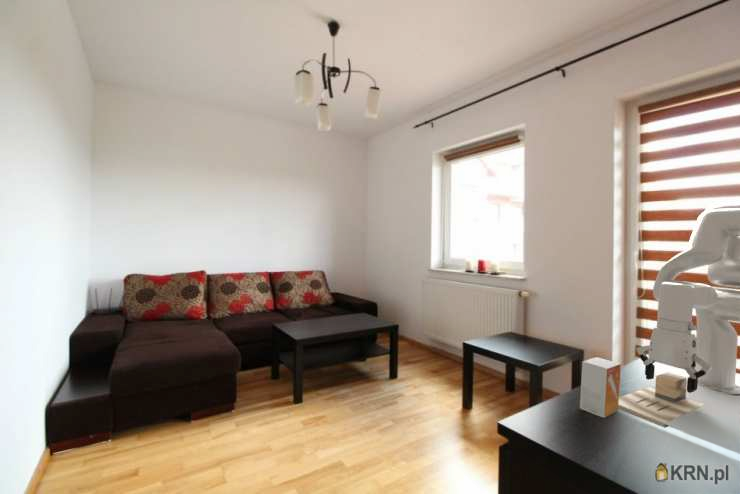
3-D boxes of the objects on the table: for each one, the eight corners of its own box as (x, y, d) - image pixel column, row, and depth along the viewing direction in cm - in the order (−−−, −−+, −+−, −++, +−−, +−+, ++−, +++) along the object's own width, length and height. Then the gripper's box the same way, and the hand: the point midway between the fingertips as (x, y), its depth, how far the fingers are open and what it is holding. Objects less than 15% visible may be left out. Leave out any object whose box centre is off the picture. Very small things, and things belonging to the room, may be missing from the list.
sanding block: (666, 392, 106) (667, 372, 106) (685, 398, 102) (686, 377, 102) (655, 396, 103) (656, 375, 103) (674, 402, 99) (675, 381, 99)
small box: (604, 419, 91) (607, 368, 91) (579, 408, 97) (581, 361, 96) (619, 411, 96) (621, 363, 95) (593, 401, 101) (595, 356, 101)
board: (649, 390, 110) (649, 386, 110) (704, 408, 99) (704, 404, 99) (608, 405, 99) (608, 400, 99) (664, 427, 88) (664, 422, 88)
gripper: (719, 332, 96) (714, 395, 97) (645, 318, 111) (641, 372, 112) (707, 334, 93) (703, 399, 93) (632, 319, 108) (629, 375, 108)
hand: (669, 385), depth 102 cm, fingers open, 9 cm apart
